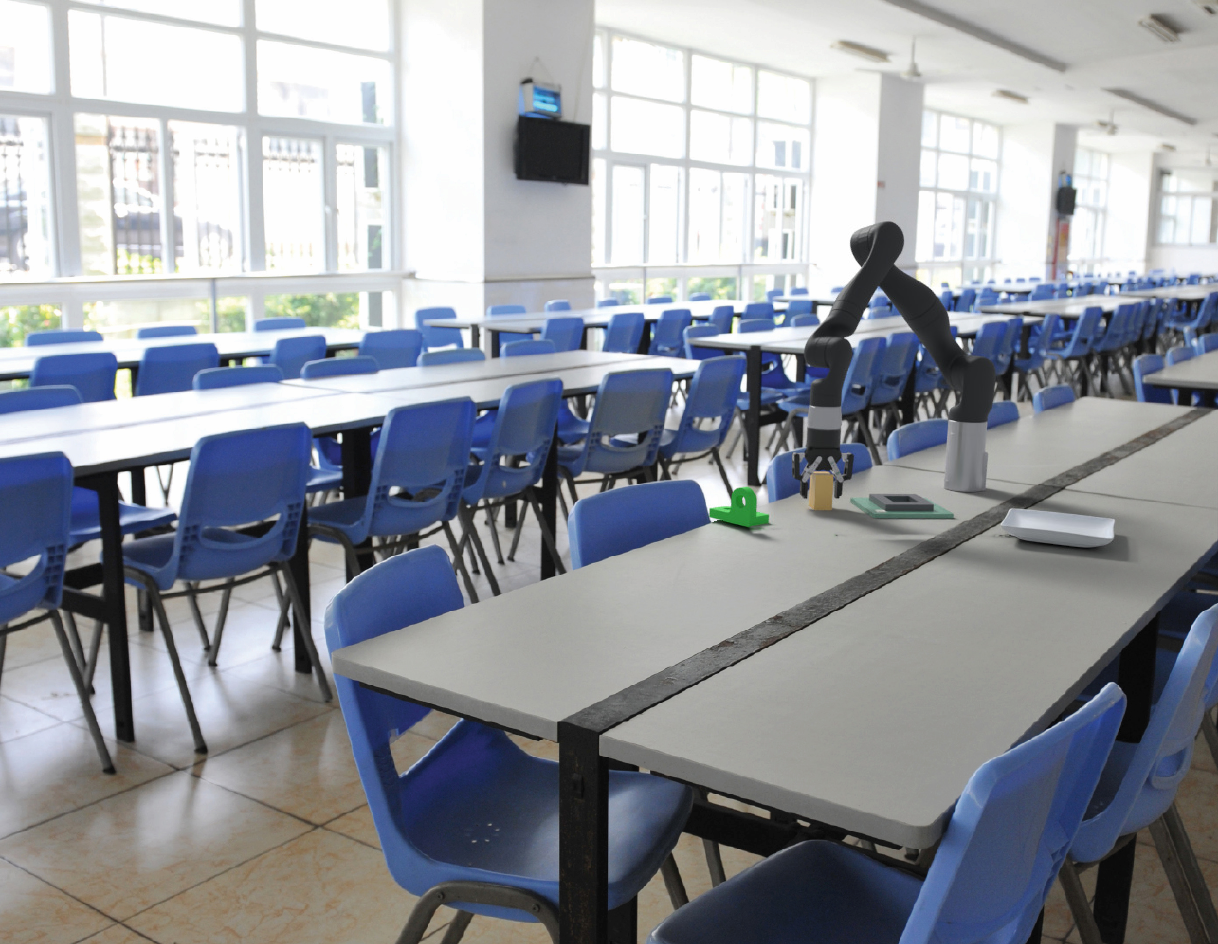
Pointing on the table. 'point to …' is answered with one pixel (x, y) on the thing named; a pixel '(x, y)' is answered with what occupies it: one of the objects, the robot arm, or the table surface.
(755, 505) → the mechanical part
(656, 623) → the table surface
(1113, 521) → the salad plate
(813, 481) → the amber plug
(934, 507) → the socket board
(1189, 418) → the table surface
